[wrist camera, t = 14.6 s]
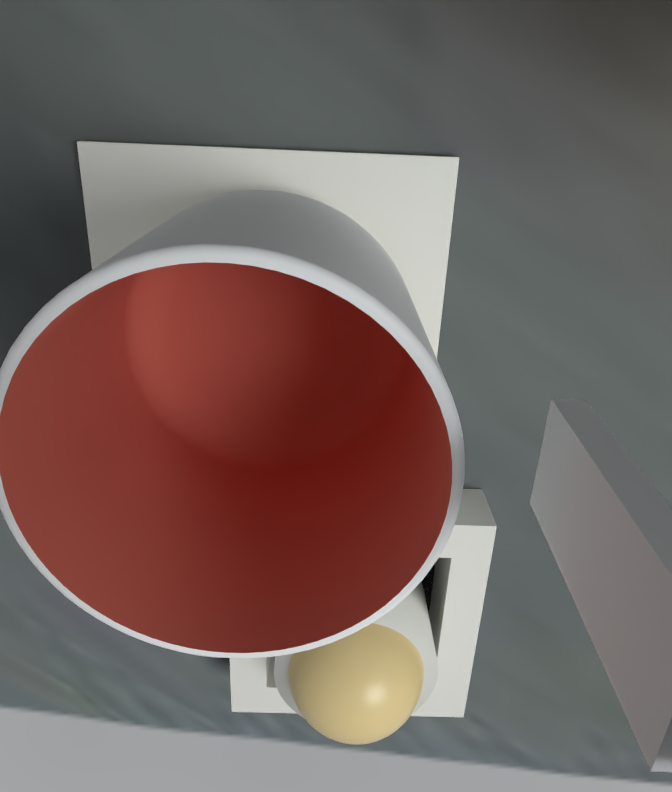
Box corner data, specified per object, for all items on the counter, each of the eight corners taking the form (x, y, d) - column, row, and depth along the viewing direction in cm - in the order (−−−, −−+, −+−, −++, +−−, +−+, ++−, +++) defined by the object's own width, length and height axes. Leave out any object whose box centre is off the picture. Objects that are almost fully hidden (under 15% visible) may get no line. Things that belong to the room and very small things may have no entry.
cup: (148, 458, 24) (40, 665, 15) (105, 187, 20) (-80, 251, 11) (407, 453, 24) (452, 658, 15) (416, 181, 20) (485, 239, 11)
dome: (281, 542, 25) (267, 658, 20) (432, 547, 25) (458, 663, 20) (280, 655, 28) (268, 784, 22) (418, 658, 28) (438, 788, 22)
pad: (81, 140, 20) (76, 141, 20) (457, 156, 20) (459, 157, 20) (119, 467, 25) (116, 472, 25) (421, 476, 25) (422, 482, 25)
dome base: (233, 481, 25) (224, 518, 23) (482, 489, 26) (496, 526, 23) (239, 665, 29) (231, 711, 27) (453, 670, 30) (463, 717, 27)
